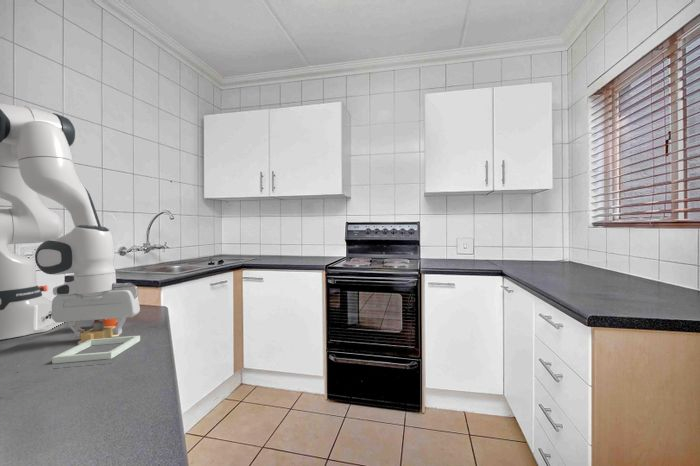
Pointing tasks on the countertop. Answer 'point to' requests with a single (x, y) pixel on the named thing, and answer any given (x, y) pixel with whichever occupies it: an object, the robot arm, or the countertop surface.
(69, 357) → the tray
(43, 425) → the countertop surface
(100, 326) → the stand
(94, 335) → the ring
